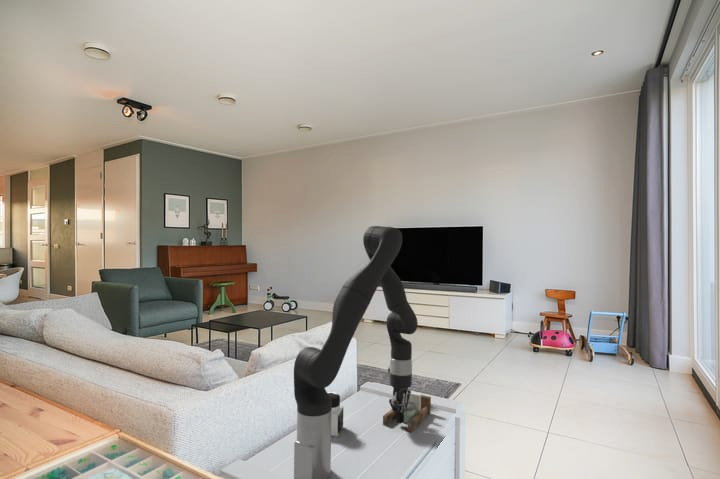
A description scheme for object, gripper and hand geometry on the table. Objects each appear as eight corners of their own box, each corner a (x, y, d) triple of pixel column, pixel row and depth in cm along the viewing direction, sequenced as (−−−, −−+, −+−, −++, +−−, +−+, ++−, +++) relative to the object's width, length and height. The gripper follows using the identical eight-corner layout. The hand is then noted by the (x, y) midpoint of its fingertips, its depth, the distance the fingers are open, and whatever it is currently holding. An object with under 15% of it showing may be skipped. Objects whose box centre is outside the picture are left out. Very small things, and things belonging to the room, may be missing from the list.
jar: (411, 425, 133) (411, 410, 133) (394, 420, 137) (395, 406, 137) (418, 418, 139) (418, 404, 139) (402, 414, 142) (402, 400, 142)
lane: (411, 432, 128) (411, 414, 128) (382, 424, 134) (382, 407, 134) (430, 413, 143) (430, 396, 143) (403, 406, 149) (403, 390, 149)
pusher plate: (419, 418, 138) (419, 395, 138) (400, 413, 142) (400, 391, 142) (426, 411, 144) (427, 389, 144) (408, 406, 148) (408, 385, 148)
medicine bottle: (338, 437, 125) (338, 399, 125) (316, 434, 126) (317, 397, 126) (343, 426, 132) (343, 391, 132) (323, 424, 133) (323, 389, 133)
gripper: (402, 378, 125) (401, 432, 125) (418, 368, 137) (417, 418, 136) (382, 374, 129) (381, 426, 129) (399, 364, 141) (398, 412, 140)
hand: (399, 422), depth 133 cm, fingers closed
